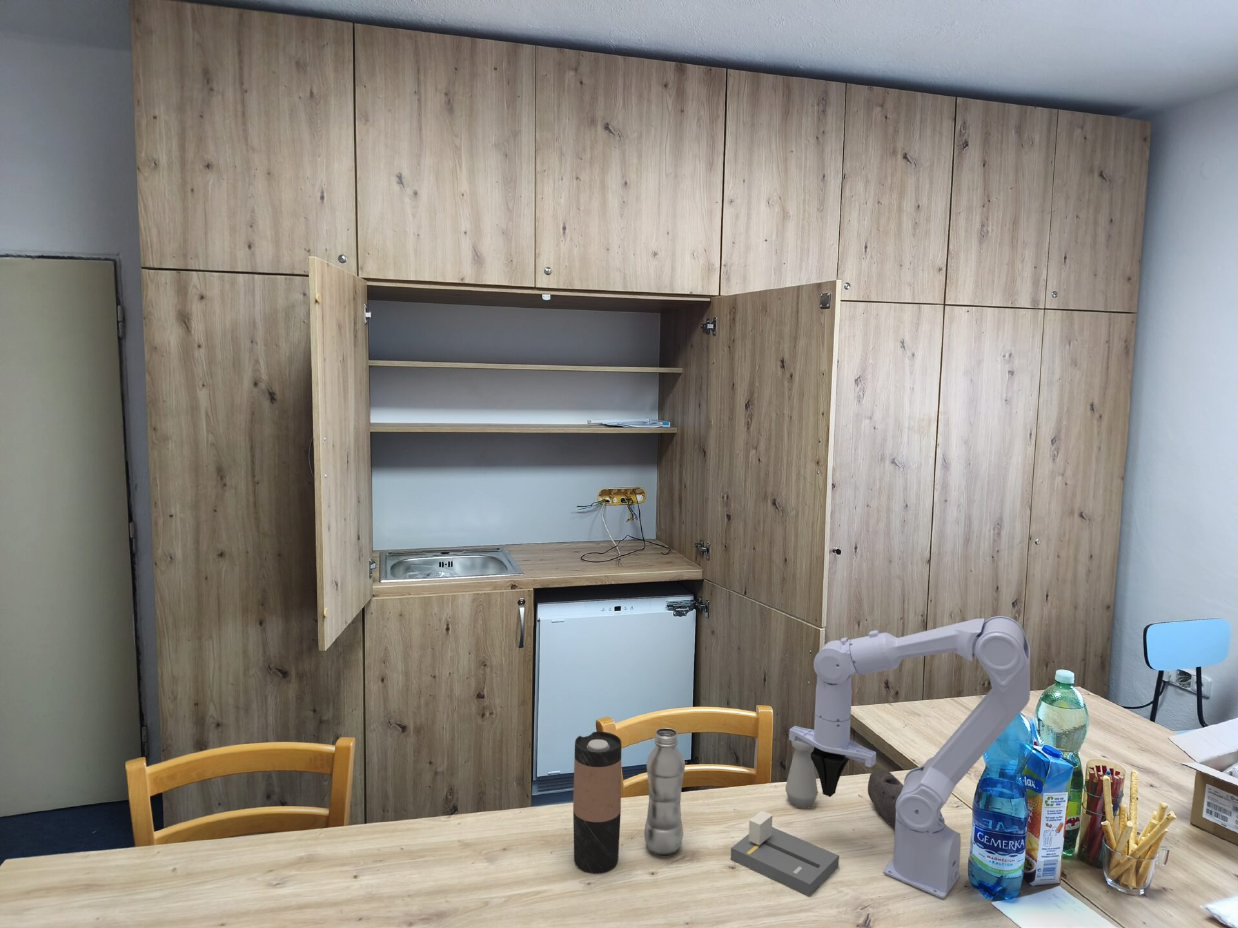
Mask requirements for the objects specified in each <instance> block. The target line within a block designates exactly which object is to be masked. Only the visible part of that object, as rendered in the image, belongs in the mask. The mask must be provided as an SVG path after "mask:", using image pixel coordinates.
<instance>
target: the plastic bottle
mask: <svg viewBox="0 0 1238 928" xmlns="http://www.w3.org/2000/svg"><path fill="white" fill-rule="evenodd" d="M654 744H655V746H654V748H653V749H652V750H651V751H650V753H649V754H648V757H647V760H646V773H647V774H646V775H647V782H648V806H647V807H648V808H647V815H646V820H645V824H644V831H643V834H644V835H643V836H644V842H645V845H646V846H647V848H648V849H649V850H650V851H651V852H652V853H654V854H656V855H657V854H658V855H661V856H662V855H664V856H665V855H666V856H667V855H671V854H674V853H676V852H677V851H678V850H679V849H680V847H681V845H682V844H683V843H682V842H683V839H684V828H683V823H682V813H681V812H682V811H681V799H682V798H681V797H682V786H683V780H684V775H685V774H684V773H685V770H686V768H685V767H686V763H685V758H684V756H683V754H682V752H681V751H680V749H679V748H678V747H677V746H678V744H679V741H678V732H677V730H675V729H674V728H671V727H661V728H658V729H656V730H655V737H654Z"/></svg>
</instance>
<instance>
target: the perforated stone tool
mask: <svg viewBox="0 0 1238 928" xmlns="http://www.w3.org/2000/svg"><path fill="white" fill-rule="evenodd" d="M903 785H904V783H902V782H901V781H900V780H899V779H898V778H897V777H896V776H895V775H893V773H892V772H890V771H888V770H883V769H877V770H873V772H871V773H870V775H869V778H868V782H867V795H868V797H869V799H870V800H871V803H872V804H873V806H874V807H875V809H876V811H877V812H878V814H879V815H880V816H881V817H882V818H883V819H884V820H885V821H886V822H887V823H888V824H889V825H890V826H891V827H892V828H893V829H895V821H896V801H897V798H898V796H899V795H900V793H901V791H902V788H903Z"/></svg>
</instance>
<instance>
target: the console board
mask: <svg viewBox="0 0 1238 928" xmlns="http://www.w3.org/2000/svg"><path fill="white" fill-rule="evenodd" d="M730 860H731V861H733V862H735V863H738V864H739V865H741V866H744V867H745V868H748V869H750V870H752V871H754V872H756V873H759V874H760V875H763V876H765V877H767V878H768V879H769V878H770V880H773V881H775V882H777V883H779V884H782V885H783V886H786V887H788V888H789V889H792V890H794V891H796V892H799V893H801V894H802V895H805V896H806V897H809V898H810V897H811V896H812V895H813V894H814V893H815V892H816V891H817V890H818V889H819V888H820V887H821V886H822V885H823V884H824V883H825V882H826V881H827V880H828V879H829V878H830V876H832V874H834V872H835V871H837V870H838V869H839V867H840V865H839V863H840V855H839V854H838V853H834V852H832V851H830V850H827V849H825V848H823V847H821V846H818V845H815V844H813V843H810V842H808V841H806V840H803V839H801V838H799V837H796V836H795V835H792V834H789V833H787V832H785V831H782V830H780V829H778V828H775V827H773V826H772V835H771V836H770V837H769V838H768V839H766V840H765V841H764V842H763V843H762V844H760V845H758V844H755V843H753V842H751V841H749V833H748V834H746V835H745V836H744V837H743V838H742V839H740V840H739V841H737V843H735V844H734V845H733V846H731V848H730Z"/></svg>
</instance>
